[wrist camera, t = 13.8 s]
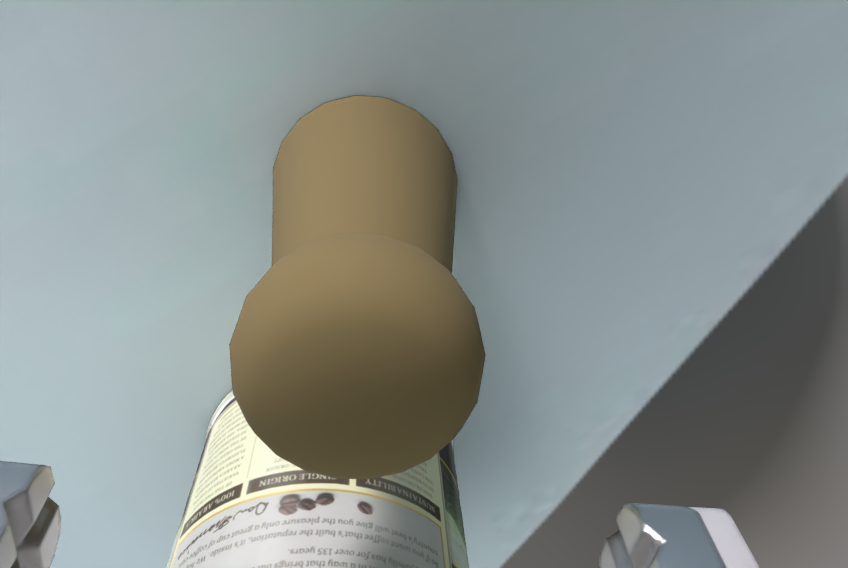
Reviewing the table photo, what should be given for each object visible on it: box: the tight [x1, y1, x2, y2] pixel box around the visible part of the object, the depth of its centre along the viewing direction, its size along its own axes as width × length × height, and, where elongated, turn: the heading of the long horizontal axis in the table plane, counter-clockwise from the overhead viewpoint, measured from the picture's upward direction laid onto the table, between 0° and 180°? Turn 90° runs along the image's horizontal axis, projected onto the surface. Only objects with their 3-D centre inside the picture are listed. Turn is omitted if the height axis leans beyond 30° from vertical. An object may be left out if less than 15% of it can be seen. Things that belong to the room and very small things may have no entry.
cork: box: [229, 95, 485, 479], centre depth 17 cm, size 6×6×11 cm
